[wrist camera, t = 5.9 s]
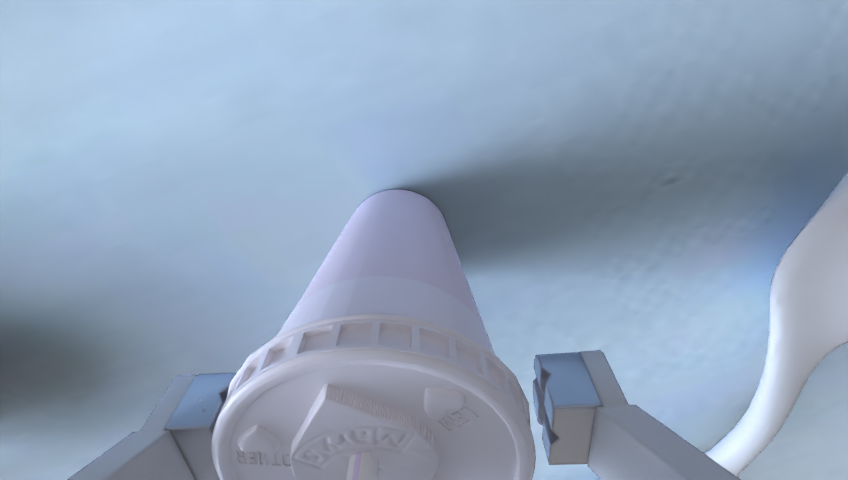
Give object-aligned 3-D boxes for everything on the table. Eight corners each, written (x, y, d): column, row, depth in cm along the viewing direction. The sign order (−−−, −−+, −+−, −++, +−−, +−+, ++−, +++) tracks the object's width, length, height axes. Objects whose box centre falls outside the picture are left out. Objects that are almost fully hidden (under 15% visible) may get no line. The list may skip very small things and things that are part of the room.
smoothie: (459, 129, 15) (590, 686, 3) (499, 281, 18) (648, 869, 6) (284, 181, 16) (-126, 770, 4) (349, 318, 19) (224, 893, 7)
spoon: (1042, 172, 16) (1183, 216, 13) (583, 596, 31) (600, 663, 28) (841, 80, 15) (949, 106, 12) (458, 572, 29) (462, 640, 26)
